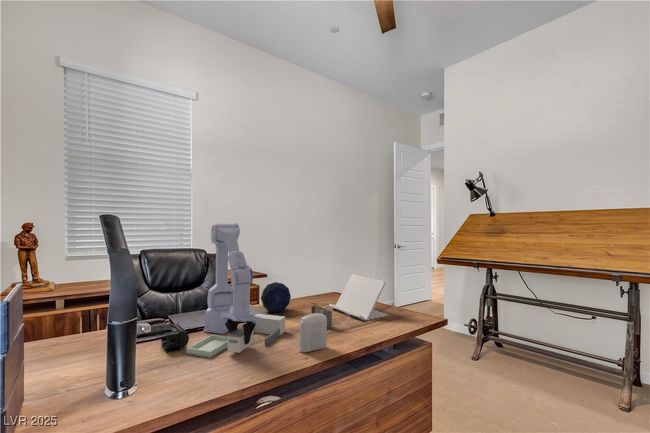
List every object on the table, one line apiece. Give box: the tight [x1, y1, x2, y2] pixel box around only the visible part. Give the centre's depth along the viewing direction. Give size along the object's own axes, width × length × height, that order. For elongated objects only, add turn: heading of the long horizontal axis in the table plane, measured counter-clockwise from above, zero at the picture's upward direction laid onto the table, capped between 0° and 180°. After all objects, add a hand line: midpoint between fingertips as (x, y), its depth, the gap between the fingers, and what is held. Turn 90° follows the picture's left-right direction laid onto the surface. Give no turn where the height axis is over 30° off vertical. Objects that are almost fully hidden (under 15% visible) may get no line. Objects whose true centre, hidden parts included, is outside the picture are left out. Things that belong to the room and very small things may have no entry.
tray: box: [185, 333, 228, 359], centre depth 115 cm, size 10×14×2 cm
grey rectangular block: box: [227, 325, 254, 353], centre depth 113 cm, size 5×10×6 cm, turn 163°
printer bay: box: [253, 313, 286, 347], centre depth 128 cm, size 13×16×6 cm
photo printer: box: [298, 313, 328, 353], centre depth 116 cm, size 10×4×12 cm, turn 123°
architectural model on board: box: [310, 301, 333, 330], centre depth 142 cm, size 11×3×10 cm, turn 38°
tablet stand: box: [328, 273, 389, 322], centre depth 163 cm, size 18×25×17 cm
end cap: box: [160, 323, 190, 354], centre depth 116 cm, size 10×7×7 cm
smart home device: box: [137, 322, 174, 337], centre depth 132 cm, size 8×2×20 cm
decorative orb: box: [260, 281, 292, 314], centre depth 163 cm, size 14×15×15 cm
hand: (240, 342), depth 113 cm, fingers closed on grey rectangular block, 4 cm apart
